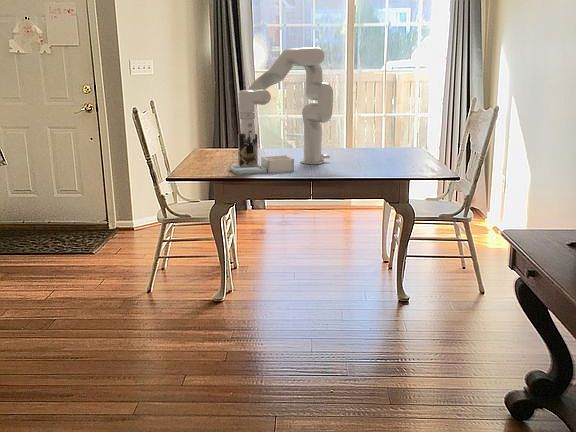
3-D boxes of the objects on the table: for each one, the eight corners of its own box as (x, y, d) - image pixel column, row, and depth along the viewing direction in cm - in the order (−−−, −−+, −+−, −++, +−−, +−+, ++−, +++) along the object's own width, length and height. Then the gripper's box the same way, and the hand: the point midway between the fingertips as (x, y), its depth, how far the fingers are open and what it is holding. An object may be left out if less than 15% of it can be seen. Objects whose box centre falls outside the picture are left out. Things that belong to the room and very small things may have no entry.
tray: (258, 168, 295) (258, 164, 295) (266, 173, 283) (266, 169, 282) (230, 169, 291) (229, 166, 290) (236, 175, 278) (236, 171, 277)
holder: (286, 166, 299) (286, 155, 297) (293, 170, 289) (293, 158, 287) (261, 168, 295) (261, 156, 293) (268, 172, 284) (267, 160, 283)
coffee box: (239, 168, 282) (238, 135, 278) (238, 165, 288) (237, 133, 284) (258, 167, 284) (257, 134, 279) (256, 164, 290) (255, 132, 286)
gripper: (259, 117, 273) (260, 154, 277) (249, 113, 288) (250, 149, 293) (244, 118, 270) (245, 155, 275) (235, 114, 286) (236, 150, 291)
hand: (247, 151), depth 284 cm, fingers closed on coffee box, 6 cm apart
